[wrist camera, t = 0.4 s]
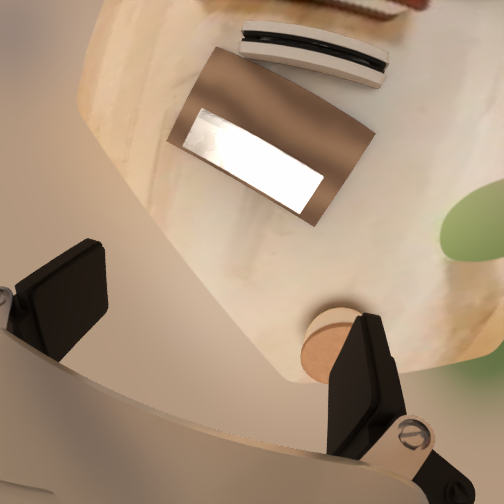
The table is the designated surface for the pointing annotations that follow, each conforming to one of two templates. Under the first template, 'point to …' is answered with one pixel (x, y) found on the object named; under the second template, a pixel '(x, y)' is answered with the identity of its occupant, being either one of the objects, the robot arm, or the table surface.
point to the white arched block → (314, 51)
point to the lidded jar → (326, 341)
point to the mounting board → (277, 123)
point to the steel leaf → (252, 160)
